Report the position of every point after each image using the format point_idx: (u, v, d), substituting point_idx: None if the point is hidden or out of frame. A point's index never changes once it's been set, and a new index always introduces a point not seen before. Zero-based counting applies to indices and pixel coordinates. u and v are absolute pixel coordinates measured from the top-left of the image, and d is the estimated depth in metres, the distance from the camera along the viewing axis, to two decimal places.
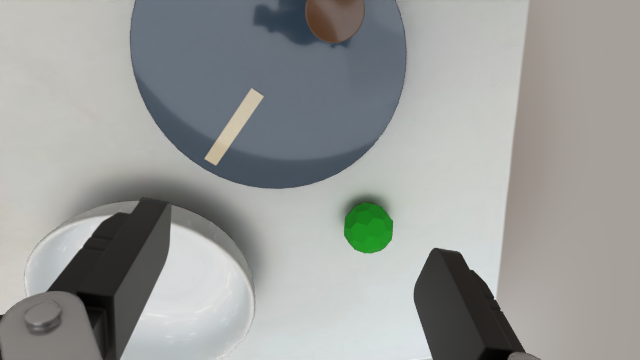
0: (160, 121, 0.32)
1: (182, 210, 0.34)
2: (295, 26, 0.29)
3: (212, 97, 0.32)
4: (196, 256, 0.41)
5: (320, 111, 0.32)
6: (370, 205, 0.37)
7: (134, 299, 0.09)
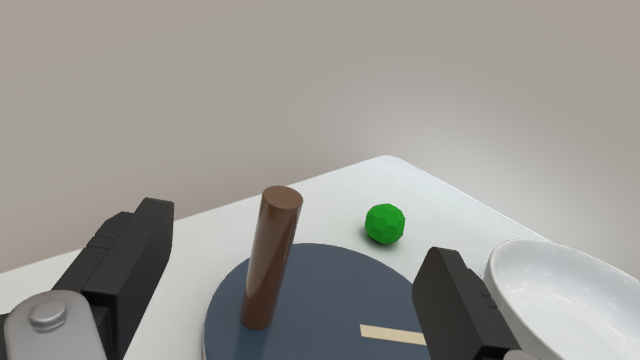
0: None
1: None
2: (291, 325, 0.31)
3: None
4: (531, 324, 0.39)
5: (337, 283, 0.37)
6: (370, 229, 0.46)
7: (137, 298, 0.09)
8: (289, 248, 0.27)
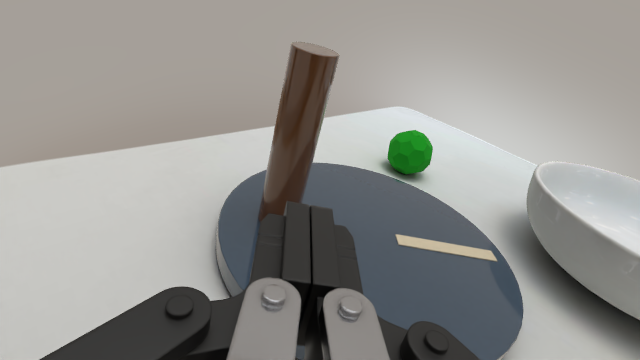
0: (516, 309, 0.25)
1: (558, 242, 0.29)
2: None
3: (441, 271, 0.26)
4: None
5: (365, 198, 0.33)
6: (394, 156, 0.41)
7: None
8: (321, 120, 0.23)
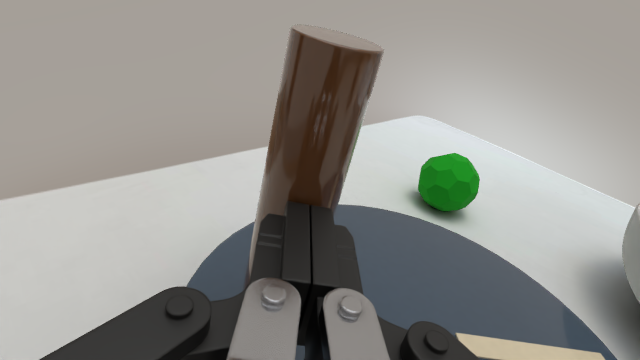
0: None
1: None
2: None
3: None
4: None
5: (401, 263, 0.22)
6: (429, 189, 0.31)
7: None
8: (346, 169, 0.12)
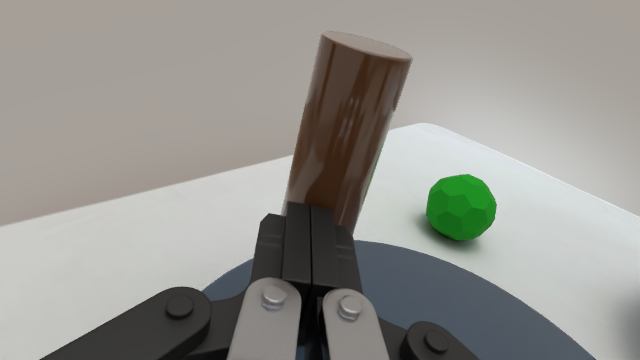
0: None
1: None
2: None
3: None
4: None
5: (476, 349, 0.18)
6: (439, 216, 0.27)
7: None
8: (355, 179, 0.12)
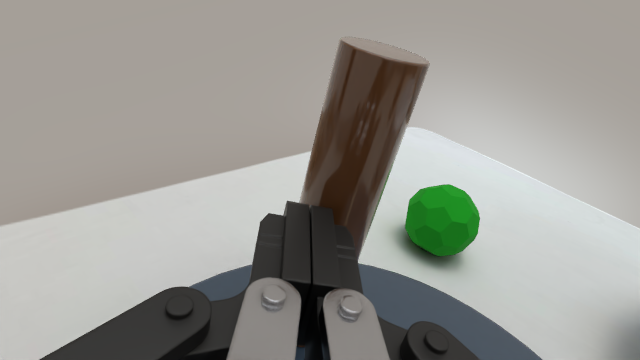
0: None
1: None
2: None
3: None
4: None
5: None
6: (417, 230, 0.25)
7: None
8: (351, 179, 0.12)
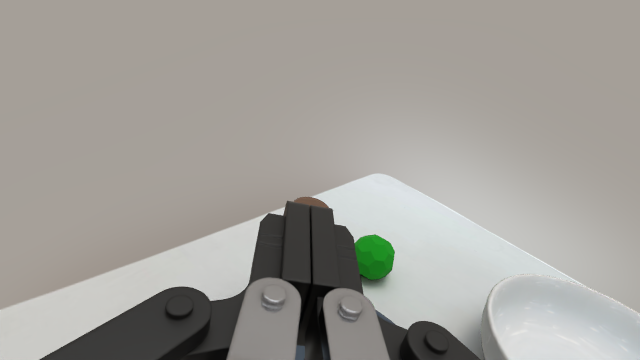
0: None
1: None
2: None
3: None
4: None
5: None
6: None
7: None
8: None
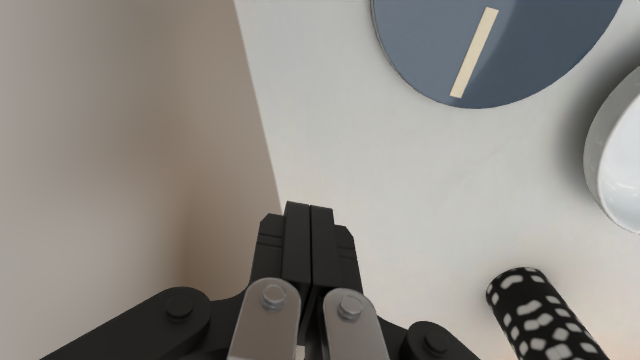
0: (406, 74, 0.35)
1: (618, 90, 0.35)
2: None
3: (450, 31, 0.34)
4: None
5: (555, 3, 0.33)
6: None
7: None
8: None
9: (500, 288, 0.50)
